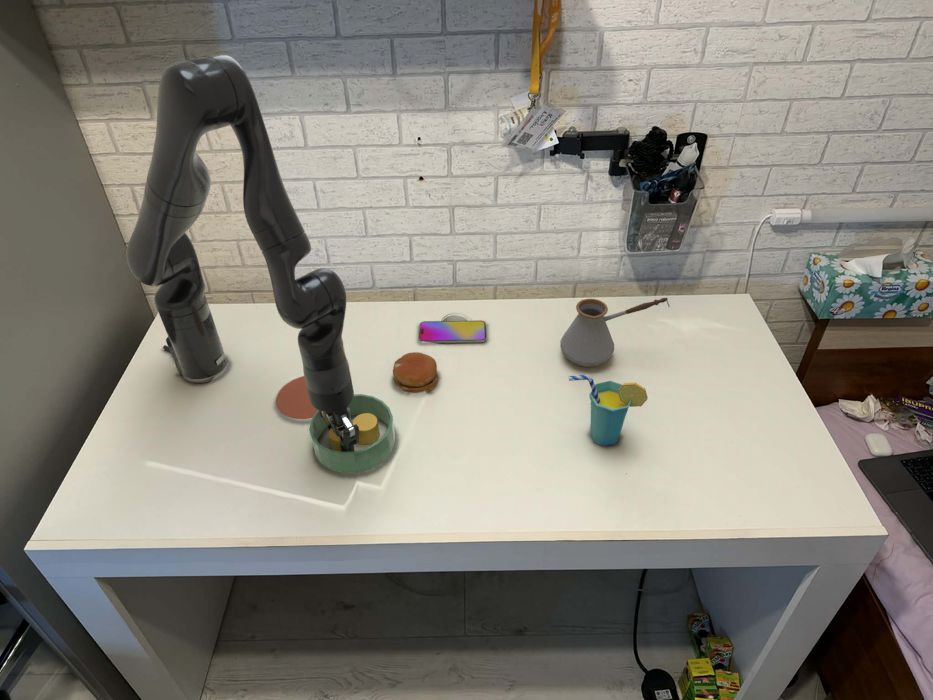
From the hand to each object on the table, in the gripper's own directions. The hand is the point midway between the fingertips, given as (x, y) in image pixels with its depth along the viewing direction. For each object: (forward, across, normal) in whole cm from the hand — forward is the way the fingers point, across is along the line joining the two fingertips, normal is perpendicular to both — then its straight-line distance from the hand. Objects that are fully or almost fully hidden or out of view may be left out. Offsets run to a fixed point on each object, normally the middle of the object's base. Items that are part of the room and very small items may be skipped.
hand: (342, 446), depth 121 cm
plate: (+1, -17, +1) cm, 17 cm away
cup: (+2, +25, +41) cm, 48 cm away
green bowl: (+1, 0, +2) cm, 3 cm away
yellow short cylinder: (+1, 0, +5) cm, 5 cm away
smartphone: (+1, -17, +36) cm, 40 cm away
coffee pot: (+2, +10, +59) cm, 60 cm away
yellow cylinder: (+1, 0, 0) cm, 1 cm away
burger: (+2, -9, +21) cm, 23 cm away
